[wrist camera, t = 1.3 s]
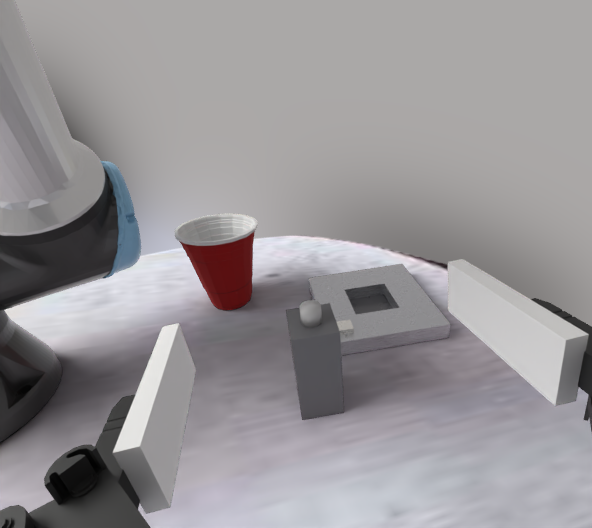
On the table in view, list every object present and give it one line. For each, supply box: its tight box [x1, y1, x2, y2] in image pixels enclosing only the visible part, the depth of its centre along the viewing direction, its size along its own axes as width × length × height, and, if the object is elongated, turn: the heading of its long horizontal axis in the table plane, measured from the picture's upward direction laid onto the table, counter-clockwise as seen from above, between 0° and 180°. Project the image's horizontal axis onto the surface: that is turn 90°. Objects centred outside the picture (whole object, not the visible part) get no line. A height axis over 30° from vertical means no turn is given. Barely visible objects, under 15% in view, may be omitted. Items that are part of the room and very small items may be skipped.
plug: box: [286, 300, 344, 420], centre depth 31 cm, size 4×4×12 cm
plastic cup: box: [175, 214, 258, 310], centre depth 48 cm, size 11×11×12 cm
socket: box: [309, 264, 451, 355], centre depth 45 cm, size 14×14×3 cm
